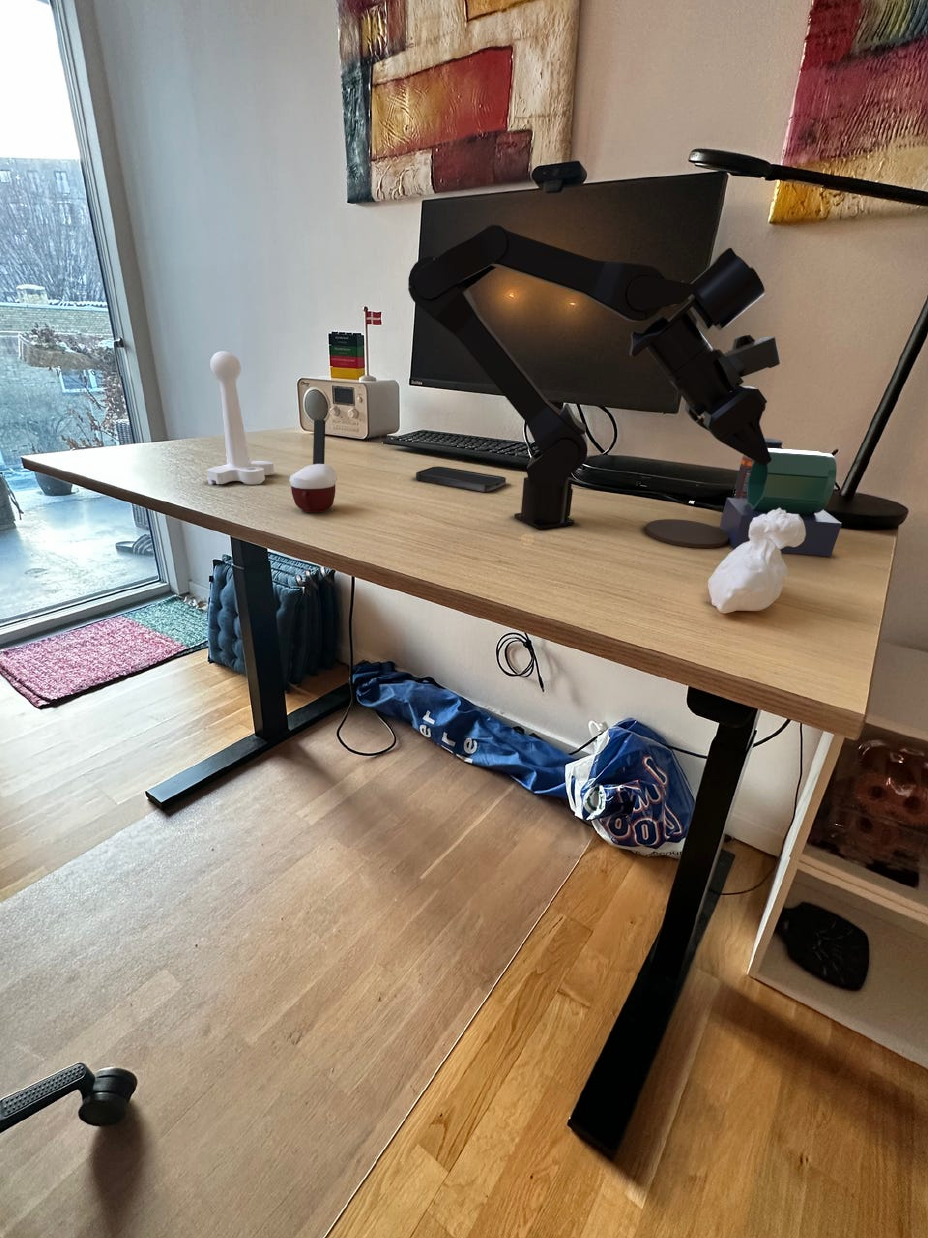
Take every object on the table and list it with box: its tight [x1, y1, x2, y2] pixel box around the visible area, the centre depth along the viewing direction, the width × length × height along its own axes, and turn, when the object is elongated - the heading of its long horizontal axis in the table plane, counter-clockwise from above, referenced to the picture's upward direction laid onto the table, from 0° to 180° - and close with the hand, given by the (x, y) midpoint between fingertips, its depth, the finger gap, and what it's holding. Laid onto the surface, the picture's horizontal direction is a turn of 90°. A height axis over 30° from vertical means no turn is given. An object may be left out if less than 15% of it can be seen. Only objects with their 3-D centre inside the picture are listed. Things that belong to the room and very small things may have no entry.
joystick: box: [205, 350, 276, 486], centre depth 94 cm, size 11×8×20 cm
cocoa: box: [288, 418, 338, 513], centre depth 83 cm, size 10×6×12 cm, turn 153°
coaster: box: [645, 518, 729, 549], centre depth 81 cm, size 11×11×1 cm
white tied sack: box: [707, 508, 806, 614], centre depth 58 cm, size 12×8×11 cm
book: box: [718, 497, 843, 558], centre depth 79 cm, size 12×9×4 cm
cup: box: [747, 448, 838, 515], centre depth 76 cm, size 8×8×8 cm
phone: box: [415, 465, 507, 493], centre depth 103 cm, size 8×1×15 cm
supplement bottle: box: [732, 437, 783, 499], centre depth 90 cm, size 6×6×11 cm
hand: (757, 456), depth 75 cm, fingers open, 9 cm apart
